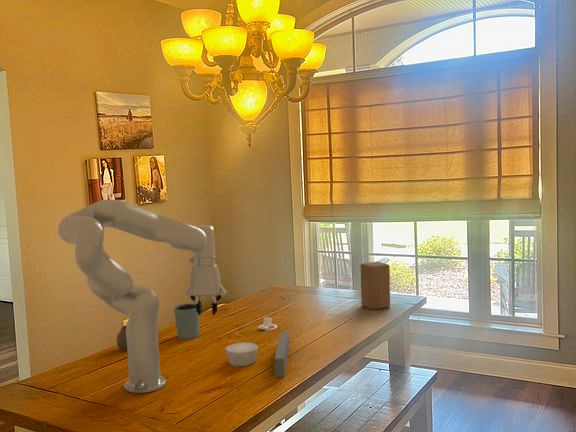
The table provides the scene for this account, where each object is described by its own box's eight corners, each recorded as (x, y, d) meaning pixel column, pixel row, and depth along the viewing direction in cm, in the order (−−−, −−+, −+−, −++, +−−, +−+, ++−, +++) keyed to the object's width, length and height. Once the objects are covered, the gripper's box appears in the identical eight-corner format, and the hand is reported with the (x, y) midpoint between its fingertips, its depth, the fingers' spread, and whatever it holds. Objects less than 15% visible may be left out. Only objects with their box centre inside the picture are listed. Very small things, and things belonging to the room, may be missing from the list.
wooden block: (360, 305, 267) (359, 263, 265) (378, 302, 271) (377, 260, 269) (372, 310, 258) (371, 266, 256) (391, 307, 262) (390, 264, 260)
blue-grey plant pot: (176, 341, 225) (174, 311, 224) (174, 333, 235) (172, 304, 233) (202, 338, 228) (201, 308, 226) (199, 330, 237) (198, 302, 236)
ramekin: (223, 358, 204) (223, 344, 203) (254, 354, 206) (254, 340, 206) (229, 369, 193) (228, 354, 192) (261, 365, 196) (261, 350, 195)
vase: (129, 344, 222) (127, 322, 221) (140, 348, 218) (138, 325, 217) (113, 349, 217) (112, 327, 216) (124, 353, 213) (122, 330, 212)
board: (284, 376, 185) (283, 358, 184) (275, 376, 185) (274, 358, 184) (289, 347, 213) (288, 331, 212) (281, 347, 213) (280, 331, 212)
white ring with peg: (262, 332, 233) (262, 322, 233) (253, 328, 240) (252, 318, 240) (281, 328, 238) (280, 318, 238) (270, 324, 245) (270, 314, 244)
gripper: (177, 264, 193) (180, 317, 195) (227, 263, 192) (229, 316, 194) (182, 260, 201) (185, 311, 203) (230, 259, 200) (233, 310, 202)
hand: (207, 313), depth 199 cm, fingers open, 4 cm apart
